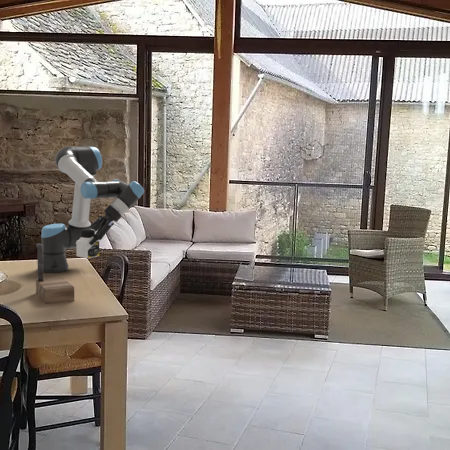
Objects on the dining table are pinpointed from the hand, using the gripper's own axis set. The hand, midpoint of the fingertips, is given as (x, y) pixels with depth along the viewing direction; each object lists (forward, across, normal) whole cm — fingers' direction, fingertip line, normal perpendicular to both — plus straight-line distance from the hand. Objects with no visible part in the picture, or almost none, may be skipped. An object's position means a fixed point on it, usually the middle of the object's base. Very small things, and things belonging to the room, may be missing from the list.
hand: (80, 247), depth 268 cm
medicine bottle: (+1, 0, -5) cm, 5 cm away
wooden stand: (+23, +1, -7) cm, 24 cm away
